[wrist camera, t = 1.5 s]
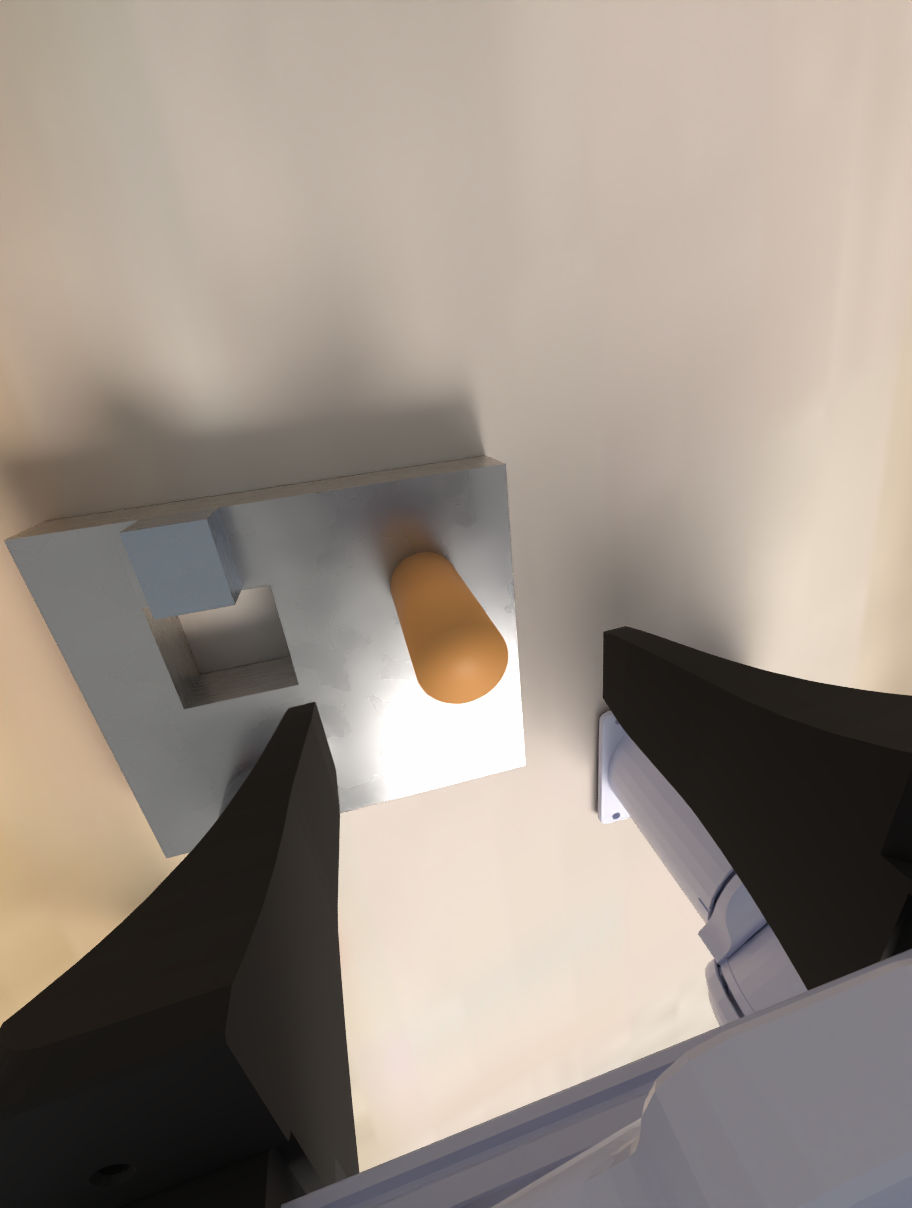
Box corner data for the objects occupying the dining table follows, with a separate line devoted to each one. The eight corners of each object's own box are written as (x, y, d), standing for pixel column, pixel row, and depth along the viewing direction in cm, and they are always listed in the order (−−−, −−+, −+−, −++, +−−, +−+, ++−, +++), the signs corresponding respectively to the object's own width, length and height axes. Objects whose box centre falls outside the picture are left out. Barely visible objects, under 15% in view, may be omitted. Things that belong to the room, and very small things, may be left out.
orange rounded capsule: (454, 546, 18) (505, 610, 13) (461, 609, 19) (511, 692, 14) (384, 559, 18) (408, 630, 13) (396, 622, 19) (422, 713, 14)
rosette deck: (485, 455, 20) (543, 479, 14) (509, 743, 26) (555, 835, 21) (46, 520, 17) (-82, 579, 12) (187, 823, 23) (144, 952, 18)
